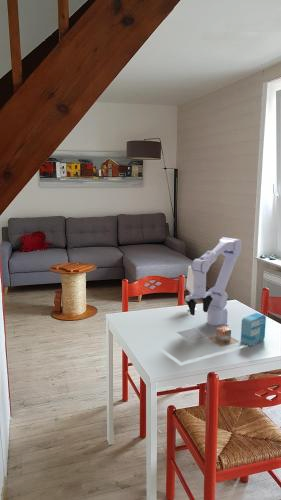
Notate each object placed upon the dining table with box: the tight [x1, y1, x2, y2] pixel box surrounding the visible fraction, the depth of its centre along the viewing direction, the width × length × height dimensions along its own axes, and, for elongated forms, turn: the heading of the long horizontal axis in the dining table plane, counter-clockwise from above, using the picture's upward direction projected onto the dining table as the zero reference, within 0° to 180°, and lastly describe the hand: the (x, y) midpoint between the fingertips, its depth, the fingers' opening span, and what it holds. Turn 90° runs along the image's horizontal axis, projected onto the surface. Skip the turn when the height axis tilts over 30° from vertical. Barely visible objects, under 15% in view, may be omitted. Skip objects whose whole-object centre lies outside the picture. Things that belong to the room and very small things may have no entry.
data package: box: [240, 312, 267, 347], centre depth 181 cm, size 12×4×12 cm, turn 131°
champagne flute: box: [185, 265, 198, 311], centre depth 222 cm, size 7×7×24 cm
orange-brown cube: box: [215, 325, 232, 342], centre depth 181 cm, size 5×5×5 cm
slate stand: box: [176, 327, 208, 341], centre depth 188 cm, size 10×10×1 cm
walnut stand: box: [207, 335, 241, 347], centre depth 181 cm, size 10×10×1 cm
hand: (198, 313), depth 191 cm, fingers open, 7 cm apart
